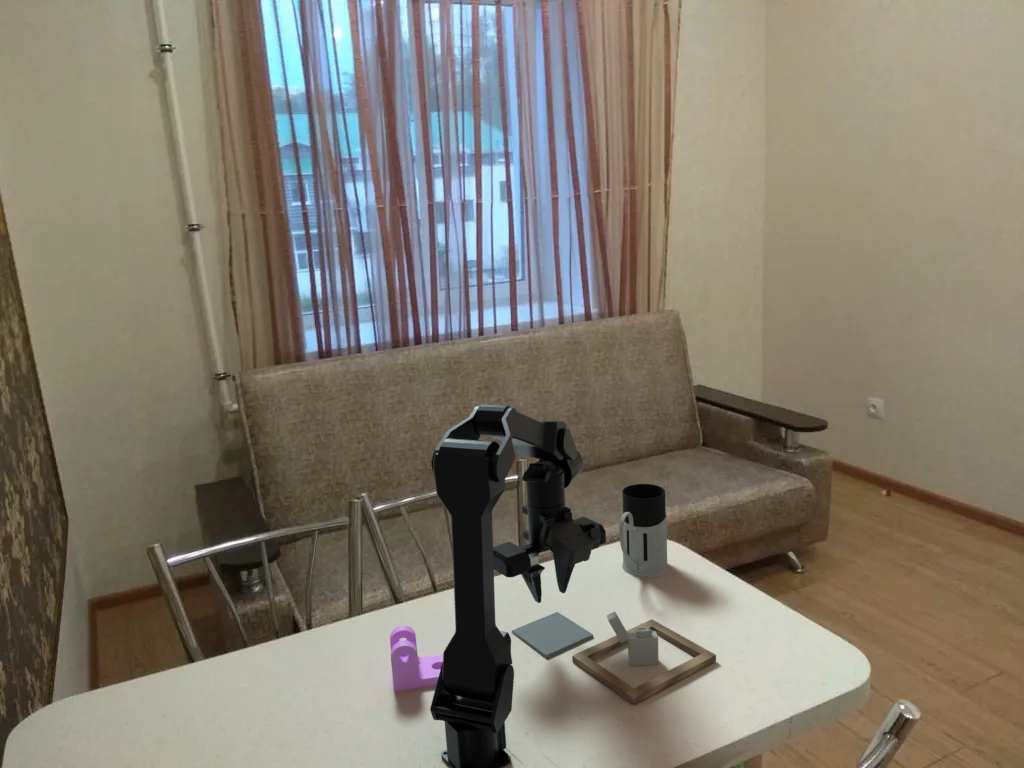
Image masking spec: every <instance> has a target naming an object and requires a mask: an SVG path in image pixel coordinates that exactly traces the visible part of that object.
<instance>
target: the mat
mask: <svg viewBox="0 0 1024 768" xmlns="http://www.w3.org/2000/svg"><path fill="white" fill-rule="evenodd" d="M511 633H512V634H513V635H515V637H517V638H518V639H520V640H521V641H522V642H524V643H525V644H526V645H527V646H528V647H530V648H532V649H533V650H534V651H536V652H537V653H539V655H540V656H541V657H544V658H545V659H548V658H551V657H554V656H555V655H557V654H560V653H562V652H564V651H566V650H569V649H570V648H573V647H576V646H577V645H579V644H582V643H583V642H587V641H588V640H590V639H592V638H594V634H593V633H591V632H590V631H588V630H587V629H585V628H584V627H582V626H581V625H579V624H577V623H576V622H574V621H573V620H571V619H570V618H568V617H566V616H565V615H563V614H562V613H560V612H558V611H556V612H553V613H551V614H549V615H545V616H543V617H541V618H539V619H536V620H534V621H532V622H529V623H526V624H524V625H522V626H519V627H517V628H514V629H512V630H511Z"/></svg>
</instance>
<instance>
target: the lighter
mask: <svg viewBox="0 0 1024 768" xmlns="http://www.w3.org/2000/svg"><path fill="white" fill-rule="evenodd" d="M606 617H607V621H608V623H609V625H610V626H611V628H612V629H613V631H614V633H615V636H616V635H617V637H618V638H619V640H620V642H621V643H623V642H625V641H627V640H628V643H627V659H628V663H629V666H630V667H638V666H651V665H653V666H654V665H659V661H660V660H659V635H657V633H656V631H652V630H651V629H649V628H648V627H640V628H636V633H627V629H626V628H625V626H624V625H623V623H622V621H621V619H620V617H619V615H618V614H617V612H616V611H613V612H611V613H609V614H607V615H606Z"/></svg>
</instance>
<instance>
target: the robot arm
mask: <svg viewBox="0 0 1024 768" xmlns="http://www.w3.org/2000/svg"><path fill="white" fill-rule="evenodd" d="M480 437H488V438H491V439H496V440H498V441H501V443H500V444H499V443H498V442H497V441H495V440H494V441H493V440H480ZM516 453H517V454H518V455H519V456H520V457H521V458H528V459H538V461H535V462H533V463H532V462H531V463H529V464H528V467H527V469H526V470H525V471H524V472H523V474H522V481H523V482H525V495H526V505H523V506H521V510H522V511H521V512H522V513H523V514H524V515H526V516H527V530H526V531H525V530H524V531H523V533H522V534H523V539H525V540H527V541H528V544H526V545H522V546H519V545H517V544H515V543H513V542H512V541H507V542H504V543H500V544H498V545H495V546H494V537H493V535H494V533H493V509H494V508H495V506H496V505H497V503H498V502H499V500H500V498H501V496H502V495H503V493H504V492H505V489H506V478H507V476H508V475H509V472H510V470H511V468H512V467H513V464H514V463H515V460H516V457H517V456H516ZM583 467H584V459H583V458H582V455H581V453H580V452H579V450H577V445H576V444H575V441H574V438H573V435H572V433H571V430H570V429H569V428H568V425H567V423H566V422H565V421H564V420H557V419H556V420H555V419H553V420H552V419H535V417H534V418H533V417H532V416H529V415H528V414H527V415H526V414H524V413H522V412H520V411H517V409H516V408H515V407H512V406H511V405H503V404H502V405H501V404H481V405H477V406H474V408H473V410H472V411H471V413H470V415H469V416H468V417H466V418H465V419H464V420H461V421H460V422H459V423H457V424H456V425H454V426H452V427H451V428H449V429H448V430H447V431H445V433H444V435H443V436H442V439H441V440H440V441H439V443H438V445H437V447H436V448H435V449H434V451H433V454H432V457H431V470H432V473H433V476H434V485H435V490H436V492H435V493H436V496H437V497H438V499H439V500H440V502H441V503H442V505H443V506H444V507H445V509H446V511H447V512H448V514H449V515H450V520H451V542H452V548H451V549H452V569H453V571H452V572H453V574H452V575H453V594H454V597H453V598H454V599H453V600H454V601H453V602H454V621H455V622H454V623H455V625H454V626H455V632H454V634H453V635H452V637H451V638H450V640H449V642H448V644H447V645H446V647H445V649H444V650H443V653H442V654H443V663H442V666H441V670H440V674H439V677H438V681H437V685H435V690H434V693H433V697H432V700H431V705H430V709H429V710H430V713H431V715H432V719H433V720H434V721H443V722H444V730H445V731H444V733H445V741H446V742H445V743H446V749H445V750H443V751H442V752H441V753H440V755H441V756H440V757H441V759H442V760H444V762H445V763H446V764H447V766H449V767H450V768H503V767H505V766H507V765H508V764H510V763H512V757H511V755H509V753H507V752H506V751H505V749H507V739H506V738H507V737H506V720H507V719H508V717H509V715H510V713H511V712H512V707H513V706H512V705H513V695H514V683H515V682H514V681H515V670H514V666H513V658H512V637H511V636H510V633H509V632H508V631H506V632H505V631H500V629H499V628H498V626H497V625H496V624H497V623H496V602H495V601H496V599H495V594H496V593H495V572H494V571H496V572H498V573H499V574H501V575H502V576H504V577H506V578H515V577H517V576H520V575H521V577H522V578H523V580H524V583H525V584H526V586H527V588H528V590H529V591H530V592H529V593H530V594H531V596H532V597H533V599H534V601H535V602H536V603H538V604H540V603H542V598H543V597H542V595H543V594H542V577H541V575H542V573H543V572H544V570H545V569H546V568H545V566H543V565H541V564H540V563H539V561H540V560H539V558H540V557H539V556H541V555H543V554H546V553H549V552H551V553H552V555H553V562H554V564H553V565H554V569H555V571H554V572H555V576H556V584H557V587H558V591H559V592H560V593H562V594H565V593H566V592H567V589H568V586H569V582H570V579H571V576H572V574H573V570H574V568H575V566H576V565H577V564H579V563H582V562H587V561H589V560H590V558H591V554H592V551H594V550H596V549H599V548H600V547H601V545H604V544H607V531H606V529H605V527H604V525H602V524H601V523H599V522H596V521H594V520H592V519H590V518H588V517H586V516H581V517H578V518H575V519H573V513H572V510H571V508H570V507H568V506H566V495H565V489H566V488H568V487H569V486H570V485H571V484H572V482H573V481H574V480H575V479H576V478H577V477H578V476H579V475H580V473H582V470H583Z"/></svg>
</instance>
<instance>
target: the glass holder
mask: <svg viewBox="0 0 1024 768" xmlns="http://www.w3.org/2000/svg"><path fill="white" fill-rule="evenodd" d="M621 491H622V492H621V493H622V494H621V495H622V514H621V518H620V521H619V524H618V525H619V527H618V528H619V530H618V533H619V535H618V536H619V537H618V538H619V543H620V548H621V551H622V552H621V553H622V565H621V567H622V570H623V571H624V572H625V573H627V574H628V575H630V576H634V577H638V578H645V579H646V578H647V579H648V578H656V577H660V576H663V575H664V574H666V573H667V572H668V570H669V564H668V532H667V531H668V527H667V526H668V525H667V524H668V523H667V522H668V519H667V512H666V489H665V488H663V487H662V486H660V485H656V484H653V483H652V484H650V483H638V484H636V483H635V484H631V485H628V486H625V487H624V488H623V489H622V490H621Z"/></svg>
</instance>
